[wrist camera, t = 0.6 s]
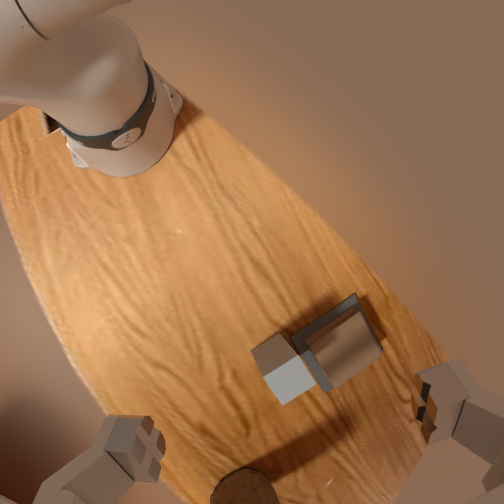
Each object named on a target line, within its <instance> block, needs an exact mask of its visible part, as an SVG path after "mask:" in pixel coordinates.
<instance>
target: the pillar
mask: <svg viewBox="0 0 504 504" xmlns="http://www.w3.org/2000/svg"><path fill="white" fill-rule="evenodd" d="M251 352H252V355H253V357H254V359H255V361H256V364H257V366H258V368H259V370H260V372H261V375H262V377H263V378H264V380H265V381H266V383H267V384H268V386H269V387H270V388H271V390H272V391H273V393H274V394H275V396H276V397H277V398H278V400H279V401H280V403H281V404H282V405H284V404H285V403H287V402H289V401H290V400H292V399H294V398H295V397H297V396H298V395H300V394H302V393H303V392H305V391H306V390H308V389H309V388H311V387H313V386H314V385H316V383H315V382H314V380H313V378H312V377H311V375H310V374H309V372H308V370H307V369H306V367H305V366H304V364H303V362H302V361H301V359H300V358H299V356H298V354H297V353H296V352H295V351H294V350H293V349H292V347H291V346H290V345H289V344H288V343H287V341H286V340H285V339H284V338H283V337H282V336H281V334H280V333H278V334H277V335H275V336H274V337H272V338H270V339H269V340H267V341H266V342H264V343H262V344H261V345H259V346H257V347H256V348H254V349H253V350H251Z"/></svg>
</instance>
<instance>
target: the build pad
mask: <svg viewBox="0 0 504 504" xmlns="http://www.w3.org/2000/svg"><path fill="white" fill-rule="evenodd" d="M350 308H354V309H356V310H358V311H360V313H361V315H362V317H363V319H364V321H365V323H366V325H367V327H368V329H369V331H370V333H371V335H372V337H373V339H374V341H375V343H376V345H377V347H378V350H379V352H380V353H381V352H383V351H382V349H381V347H380V345H379V343H378V341H377V339H376V337H375V334H374V332H373V330H372V328H371V326H370V324H369V322H368V320H367V318H366V316H365V314H364V312H363V310H362V308H361V306H360V304H359V302H358V300H357V298H356V296H355V294H353V295H351V296H350V297H348V298H347V299H346V300H344V301H343V302H341V303H340V304H338V305H337V306H336V307H334V308H333V309H331V310H330V311H328V312H327V313H325V314H324V315H322V316H321V317H320V318H318V319H317V320H315V321H314V322H312V323H311V324H309V325H308V326H306V327H305V328H303V329H302V330H300V331H298V332H297V333H295V334H294V335H292V336H291V337H290V338H291V340H292V342H293V343H294V345H295V346H296V348H297V350H298V351H299V353H300V355H301V356H302V358H303V359H304V361H305V363H306V364H307V366H308V367H309V369H310V371H311V372H312V374H313V376H314V377H315V379H316V380H317V382H318V384H319V385H320V387H321V388H322V390H323V392H324V393H326V392H327V391H329V390H330V389H332V388H333V386H332V385H331V384H330V383H329V382H328V380H327V378H326V377H325V375H324V373H323V372H322V370H321V368H320V367H319V365H318V363H317V362H316V360H315V358H314V357H313V355H312V353H311V352H310V350H309V348H308V347H307V345H306V343H305V342H304V339H306V338H307V337H309V336H311V335H312V334H313V333H315V332H316V331H318V330H319V329H321V328H322V327H324V326H325V325H327V324H328V323H330V322H331V321H333V320H334V319H335V318H337V317H338V316H340V315H341V314H343V313H344V312H345V311H347V310H348V309H350Z"/></svg>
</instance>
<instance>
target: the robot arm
mask: <svg viewBox="0 0 504 504" xmlns="http://www.w3.org/2000/svg"><path fill="white" fill-rule="evenodd" d="M132 1H135V0H0V103H11V104H20V105H27V106H31V107H35V108H38V109H40V110H42V111H43V112H45V113H47V114H48V115H50V116H51V117H52V118H54V119H55V120H57V122H58V124H59V126H60V127H61V132H62V135H63V136H64V137H65V136H66V137H67V141H68V142H67V147H68V148H69V149H70V152H71V157H72V161H73V164H74V165H75V166H76V167H77V168H79V169H95V170H98V171H100V172H102V173H104V174H107V175H110V176H116V177H126V176H132V175H135V174H138V173H141V172H143V171H145V170H147V169H148V168H150V167H151V166H153V165H154V164H155V163H156V162H157V161H158V160H159V159H160V158H161V157H162V156H163V155H164V153H165V152H166V150H167V149H168V147H169V145H170V142H171V140H172V137H173V132H174V123H175V119H176V117H177V115H178V114H179V112H180V110H181V108H182V106H183V100H182V98H181V96H180V95H179V94H178V93H177V92H176V91H175V90H174V89H173V88H172V87H171V86H170V85H169V84H168V83H167V82H166V81H165V80H164V79H163V78H162V77H161V76H160V75H159V74H158V73H157V72H156V71H155V70H154V69H153V68H151V66H150V65H148V63H146V62H145V61H144V60H143V57H142V54H141V51H140V47H139V44H138V40H137V38H136V35H135V33H134V31H133V30H132V29H131V28H130V26H128V25H127V24H126V23H125V22H124V21H122V20H121V19H119V18H117V17H115V16H113V15H111V14H108V13H105V12H106V11H109V10H111V9H114V8H116V7H119V6H121V5H124V4H127V3H129V2H132ZM171 96H172V98H171ZM413 383H414V385H415V389H414V390H413V391H412V394H411V404H412V410H413V413H414V416H415V418H416V420H418V421H420V422H422V426H421V432H422V434H423V437H424V439H425V441H426V444H427V446H428V445H431V444H433V443H436V442H439V441H442V440H445V439H448V438H450V437H452V439H454V440H455V441H457V442H458V443H460V444H461V445H463V446H464V447H466V448H467V449H469V450H470V451H472V452H473V453H475V454H476V455H478V456H479V457H481V458H482V459H484V460H485V461H487V462H488V463H490V464H491V467H490V469H489V470H488V471H487V473H486V474H485V476H484V477H483V479H482V483H483V485H484V488H485V490H486V493H484V494H482V495H480V496H478V497H476V498H474V499H472V500H470V501H468V502H465V503H463V504H504V396H502V395H499V394H497V393H494V392H492V391H490V390H486V391H484V390H483V389H482V387H481V386H480V384H479V383H478V381H477V380H476V379H475V377H474V376H473V374H472V373H471V372H470V370H469V369H468V367H467V366H466V365H465V363H464V362H463V360H462V359H460V358H457V359H454V360H451V361H449V362H446V363H442V364H440V365H437V366H434V367H431V368H429V369H426V370H423V371H420V372H417V373H415V375H414V379H413ZM153 426H154V421H153V420H152V418H151V417H150V416H139V415H112V414H109V415H107V416H106V417H105V419H104V421H103V423H102V425H101V427H100V430H99V432H98V434H97V436H96V438H95V441H94V443H93V445H92V447H91V449H87V450H85V451H84V452H83V453H81V454H80V455H79V456H77V457H76V458H75V459H73V460H72V461H71V462H69V463H68V464H67V465H65V466H64V467H63V468H61V469H60V470H59V471H57V472H56V473H55V474H53V475H52V476H50V477H49V478H48V479H46V480H45V481H44V482H43V483H42V485H41V487H40V489H39V491H38V493H37V495H36V498H35V500H34V502H33V504H116V503H117V502H118V500H119V499H120V498H121V497H122V496H123V495H124V494H125V493H126V492H127V491H128V490H129V489H130V488H131V486H132V485H133V484H134V483H135V481H139V482H154V483H157V481H158V478H159V474H160V470H161V466H160V464H159V462H158V461H159V460H161V459H162V458H163V457H164V454H165V450H166V447H165V439H164V436H163V434H162V433H161V431H160V430H158V429H156V428H155V427H153ZM0 504H17V503H15V502H13V501H11V500H9V499H7V498H5V497H3V496H1V495H0Z"/></svg>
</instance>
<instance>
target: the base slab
mask: <svg viewBox="0 0 504 504" xmlns="http://www.w3.org/2000/svg"><path fill="white" fill-rule="evenodd" d="M304 342H305V343H306V345H307V347H308V348H309V350H310V352H311V353H312V355H313V357H314V358H315V360H316V362H317V363H318V365H319V367H320V368H321V370H322V372H323V373H324V375H325V377H326V378H327V380H328V382H329V383H330V384H331V385H332V386H333V387H334V388H335V389H337V388H338V387H340V386H341V385H343V384H344V383H345V382H347V381H348V380H350V379H351V378H353V377H354V376H355V375H357V374H358V373H359V372H361V371H362V370H364V369H365V368H366V367H368V366H369V365H370V364H372V363H373V362H374V361H375V360H377V359H378V358H379V357H381V354H380V352H379V350H378V347H377V345H376V343H375V341H374V339H373V337H372V335H371V333H370V331H369V329H368V327H367V325H366V323H365V321H364V319H363V317H362V315H361V313H360V311H358V310H356V309H354V308H350V309H348V310H347V311H345V312H344V313H343V314H341V315H340V316H338V317H337V318H335V319H334V320H333V321H331V322H330V323H328V324H327V325H325V326H324V327H322V328H321V329H319V330H318V331H316V332H315V333H313V334H312V335H311V336H309V337H307V338H306V339H304Z"/></svg>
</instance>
